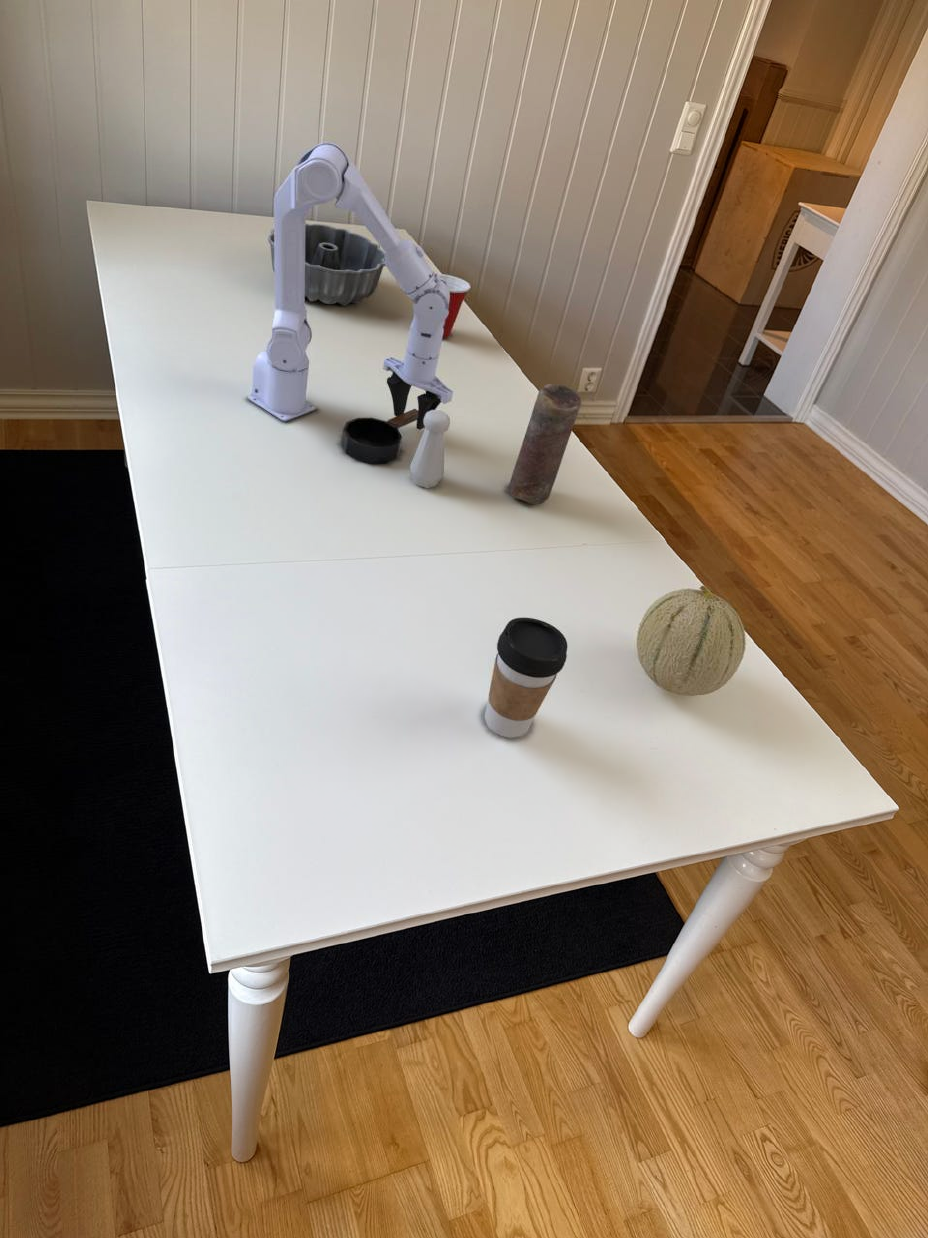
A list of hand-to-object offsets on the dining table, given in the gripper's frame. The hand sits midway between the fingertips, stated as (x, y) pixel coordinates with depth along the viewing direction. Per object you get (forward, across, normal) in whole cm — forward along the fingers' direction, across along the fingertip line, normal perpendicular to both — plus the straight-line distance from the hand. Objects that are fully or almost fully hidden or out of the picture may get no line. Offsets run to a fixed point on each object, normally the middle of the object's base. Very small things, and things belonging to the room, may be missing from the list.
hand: (410, 420), depth 160 cm
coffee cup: (+2, -54, +44) cm, 70 cm away
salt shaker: (+2, -12, +10) cm, 16 cm away
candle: (+2, -26, -2) cm, 27 cm away
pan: (+2, 0, +7) cm, 7 cm away
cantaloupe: (+2, -66, +19) cm, 69 cm away
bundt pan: (+2, +52, -32) cm, 61 cm away
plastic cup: (+2, +24, -39) cm, 46 cm away
